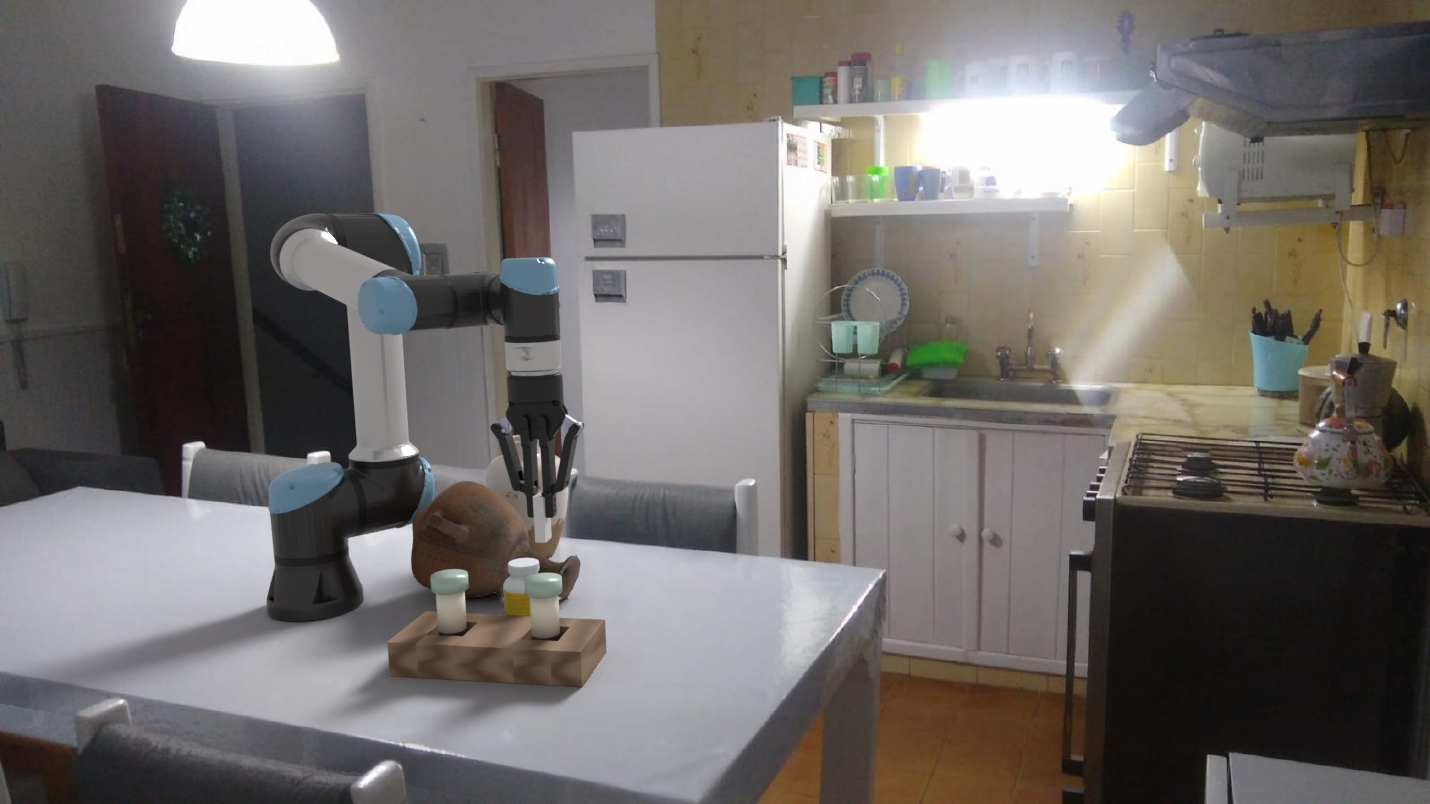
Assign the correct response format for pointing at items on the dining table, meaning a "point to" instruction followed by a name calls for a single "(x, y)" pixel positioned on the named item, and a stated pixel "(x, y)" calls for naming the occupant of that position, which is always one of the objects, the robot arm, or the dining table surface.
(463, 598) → the knob
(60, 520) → the dining table surface
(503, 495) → the vase
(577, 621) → the mount
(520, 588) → the pill bottle
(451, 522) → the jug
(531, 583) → the knob
